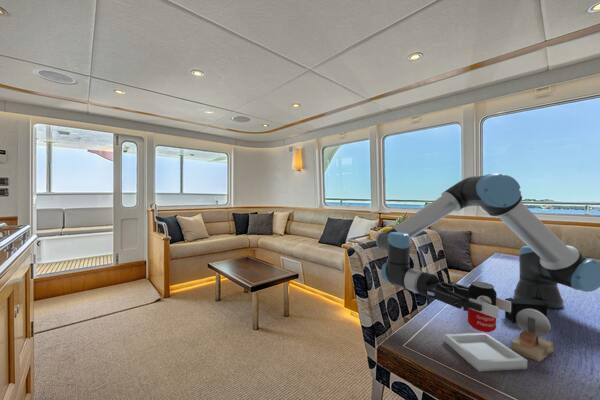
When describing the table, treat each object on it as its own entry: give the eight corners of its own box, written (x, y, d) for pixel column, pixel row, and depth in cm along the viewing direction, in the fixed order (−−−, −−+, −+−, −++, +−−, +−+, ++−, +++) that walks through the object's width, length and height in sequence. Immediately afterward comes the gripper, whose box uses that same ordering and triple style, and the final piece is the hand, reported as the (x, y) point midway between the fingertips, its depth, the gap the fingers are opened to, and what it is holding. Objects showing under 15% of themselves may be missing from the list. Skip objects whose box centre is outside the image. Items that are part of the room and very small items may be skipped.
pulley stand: (524, 339, 77) (524, 302, 77) (555, 351, 71) (556, 311, 71) (509, 349, 72) (509, 309, 72) (541, 363, 66) (542, 319, 66)
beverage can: (462, 324, 71) (463, 282, 71) (477, 320, 74) (478, 279, 74) (485, 335, 66) (486, 289, 66) (501, 331, 68) (502, 286, 68)
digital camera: (534, 318, 91) (535, 298, 91) (546, 325, 86) (547, 305, 86) (502, 315, 93) (502, 296, 93) (512, 323, 88) (512, 302, 88)
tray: (485, 339, 77) (485, 332, 77) (527, 368, 64) (527, 360, 64) (444, 341, 76) (444, 334, 76) (478, 371, 63) (478, 362, 63)
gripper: (439, 289, 90) (520, 316, 70) (403, 299, 80) (485, 333, 60) (439, 268, 90) (520, 289, 70) (403, 276, 80) (485, 302, 60)
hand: (504, 309), depth 65 cm, fingers closed on beverage can, 6 cm apart
